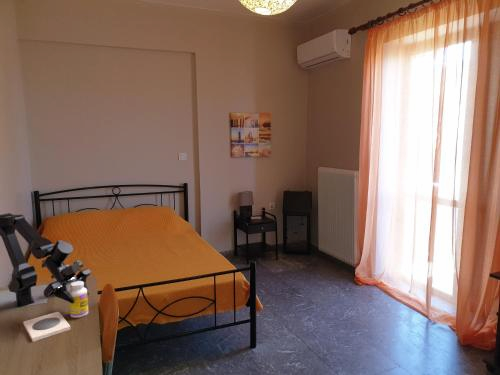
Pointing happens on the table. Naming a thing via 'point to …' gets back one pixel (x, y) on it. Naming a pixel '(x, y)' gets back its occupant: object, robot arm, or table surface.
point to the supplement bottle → (78, 300)
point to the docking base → (46, 326)
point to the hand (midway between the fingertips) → (81, 299)
